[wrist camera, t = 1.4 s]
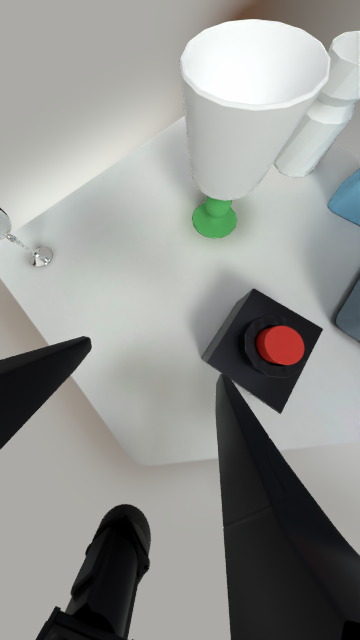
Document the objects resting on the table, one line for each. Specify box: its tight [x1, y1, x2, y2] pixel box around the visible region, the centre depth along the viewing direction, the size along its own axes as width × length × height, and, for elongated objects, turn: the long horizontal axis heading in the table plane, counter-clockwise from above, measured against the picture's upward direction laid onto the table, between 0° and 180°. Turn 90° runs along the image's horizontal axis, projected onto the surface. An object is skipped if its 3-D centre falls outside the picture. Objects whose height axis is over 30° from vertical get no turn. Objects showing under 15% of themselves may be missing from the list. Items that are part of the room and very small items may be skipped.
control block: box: [201, 289, 323, 414], centre depth 19 cm, size 12×10×8 cm
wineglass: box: [0, 208, 52, 267], centre depth 21 cm, size 6×6×12 cm
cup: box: [180, 19, 331, 238], centre depth 20 cm, size 14×14×16 cm
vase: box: [275, 31, 360, 177], centre depth 25 cm, size 9×9×12 cm
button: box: [256, 326, 304, 365], centre depth 15 cm, size 4×4×2 cm
